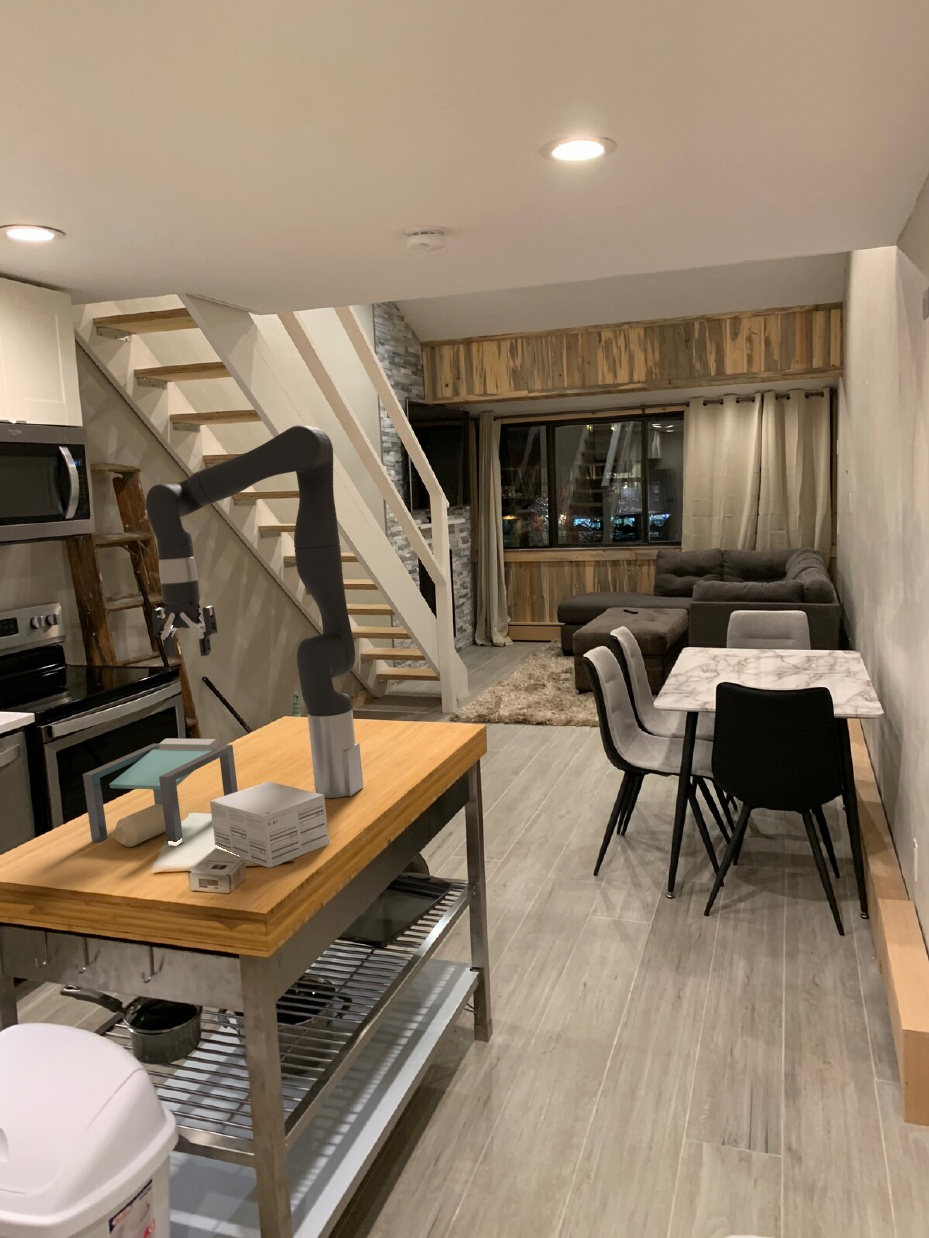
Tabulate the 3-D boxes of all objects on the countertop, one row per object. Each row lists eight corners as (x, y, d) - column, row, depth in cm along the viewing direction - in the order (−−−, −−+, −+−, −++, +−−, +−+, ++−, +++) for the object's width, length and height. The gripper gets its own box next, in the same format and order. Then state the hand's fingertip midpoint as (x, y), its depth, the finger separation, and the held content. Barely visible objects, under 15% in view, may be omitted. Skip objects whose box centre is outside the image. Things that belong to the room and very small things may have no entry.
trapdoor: (164, 748, 192) (161, 738, 192) (222, 749, 188) (220, 739, 187) (111, 791, 177) (108, 780, 176) (173, 793, 172) (170, 782, 171)
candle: (167, 801, 176) (126, 819, 167) (175, 829, 176) (133, 849, 167) (148, 804, 179) (106, 822, 170) (155, 832, 179) (113, 851, 170)
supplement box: (331, 844, 164) (326, 793, 163) (269, 870, 155) (263, 816, 154) (274, 826, 176) (269, 779, 175) (214, 849, 166) (208, 799, 165)
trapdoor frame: (161, 803, 195) (153, 743, 193) (239, 807, 188) (232, 744, 187) (91, 841, 175) (82, 774, 173) (176, 846, 169) (168, 777, 167)
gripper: (218, 576, 195) (227, 652, 197) (161, 579, 200) (170, 653, 202) (197, 580, 188) (206, 658, 190) (139, 583, 193) (148, 660, 195)
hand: (188, 656), depth 196 cm, fingers open, 8 cm apart
